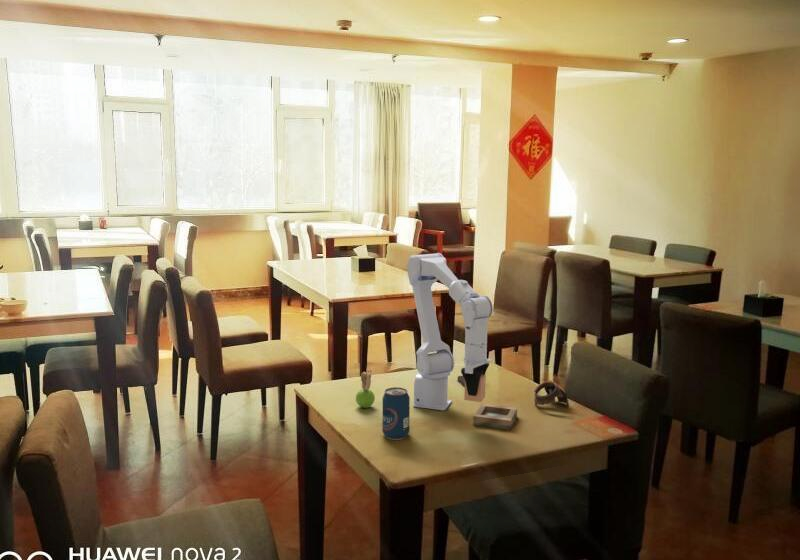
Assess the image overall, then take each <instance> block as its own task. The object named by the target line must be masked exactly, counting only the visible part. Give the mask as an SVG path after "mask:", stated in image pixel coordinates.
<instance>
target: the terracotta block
mask: <svg viewBox="0 0 800 560" xmlns="http://www.w3.org/2000/svg"><path fill="white" fill-rule="evenodd" d="M486 377H487V376H486V374H485V375H482V376H481V378H480V381H479V386H478V392H477V395H476V396H471V395H468V391H467V386H466V382H465V388H464V397H463V398H464V401H468V402H469V401H470V402H477V403H482V402H483V401H484V399H485V398H486V382H487V381H486Z"/></svg>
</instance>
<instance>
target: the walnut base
mask: <svg viewBox="0 0 800 560" xmlns="http://www.w3.org/2000/svg"><path fill="white" fill-rule="evenodd" d="M517 417H518V408H517V407H512V406H504V405H502V406H501V405H494V404H487V403H486V404H485V403H481V404H480V405H479V407H478V409H477V410H476V411H475V413H474V414H473V421H472V423H473V424H472V425H473V426H481V427H486V428H487V427H488V428H495V429H502V430H509V431H510V430H512V427H513V426H514V423H515V422H516V420H517Z"/></svg>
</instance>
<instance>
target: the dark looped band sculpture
mask: <svg viewBox="0 0 800 560" xmlns="http://www.w3.org/2000/svg"><path fill="white" fill-rule="evenodd" d="M543 389H544V391H545V393H546V395H539V394H538V393H540V391H541V390H543ZM556 399H557V402H556ZM533 402H534V404H535V406H537V407H538V406H539V405H542V406H544V405H549V404H551V403H552V404H556V403H564V404H566V408H567V409H569V408H570V402H569V398H568V395H567V392H566V390H565V389H564V388H563V387H562V386H561V385H559V384H558V383H557V382H555V381H553V380H547V381H544V382H541V383H540V384H538V386H537V385H536V387H535V389H534V400H533Z"/></svg>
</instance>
